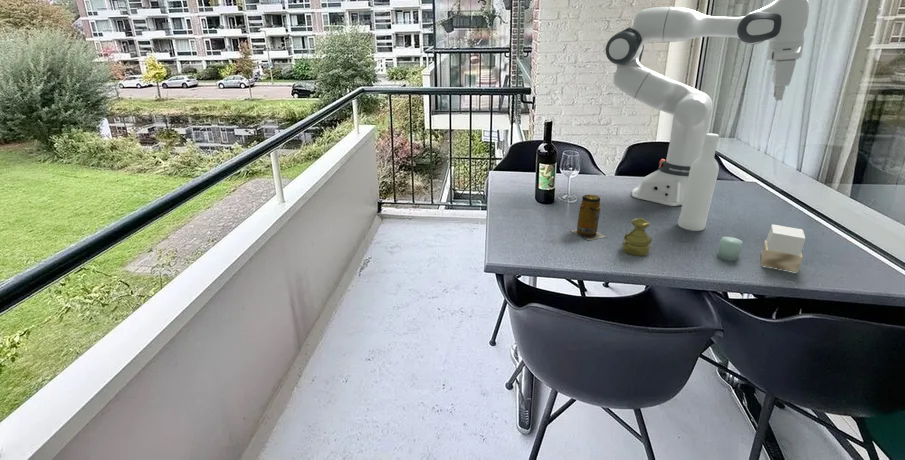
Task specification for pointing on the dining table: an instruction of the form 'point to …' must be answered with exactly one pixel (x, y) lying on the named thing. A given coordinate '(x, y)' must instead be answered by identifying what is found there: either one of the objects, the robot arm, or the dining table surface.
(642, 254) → the yellow tiered cone
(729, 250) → the pale green rounded block
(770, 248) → the tower top
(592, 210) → the condiment
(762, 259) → the tower base
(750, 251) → the dining table surface
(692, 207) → the bottle
